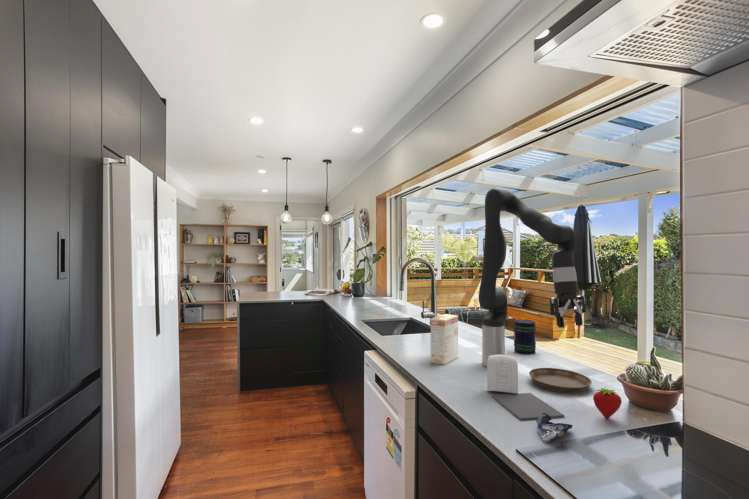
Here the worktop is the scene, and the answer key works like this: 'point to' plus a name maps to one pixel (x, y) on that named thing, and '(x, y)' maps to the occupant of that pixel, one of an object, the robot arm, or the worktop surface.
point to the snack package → (551, 426)
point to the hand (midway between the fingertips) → (570, 326)
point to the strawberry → (607, 402)
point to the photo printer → (502, 374)
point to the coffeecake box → (444, 338)
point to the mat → (526, 406)
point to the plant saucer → (560, 380)
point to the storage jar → (524, 337)
